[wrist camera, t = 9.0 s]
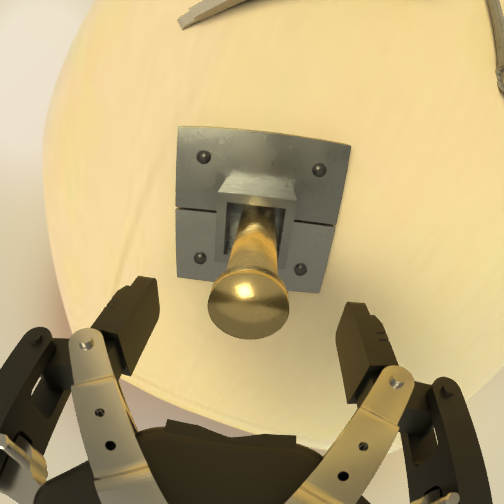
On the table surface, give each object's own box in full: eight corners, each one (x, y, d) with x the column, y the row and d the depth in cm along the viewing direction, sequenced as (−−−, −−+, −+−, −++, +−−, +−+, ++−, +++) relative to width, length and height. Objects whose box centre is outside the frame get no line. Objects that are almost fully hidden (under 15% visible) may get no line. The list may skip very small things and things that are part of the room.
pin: (283, 197, 20) (296, 281, 10) (277, 237, 21) (281, 342, 12) (237, 191, 20) (208, 271, 10) (234, 233, 21) (207, 334, 12)
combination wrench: (525, 97, 12) (483, -69, 2) (517, 93, 12) (473, -74, 2) (499, 94, 15) (466, -60, 5) (491, 90, 15) (456, -64, 6)
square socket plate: (347, 144, 19) (364, 151, 15) (317, 286, 24) (324, 315, 21) (182, 125, 19) (163, 129, 15) (180, 271, 24) (166, 297, 21)
